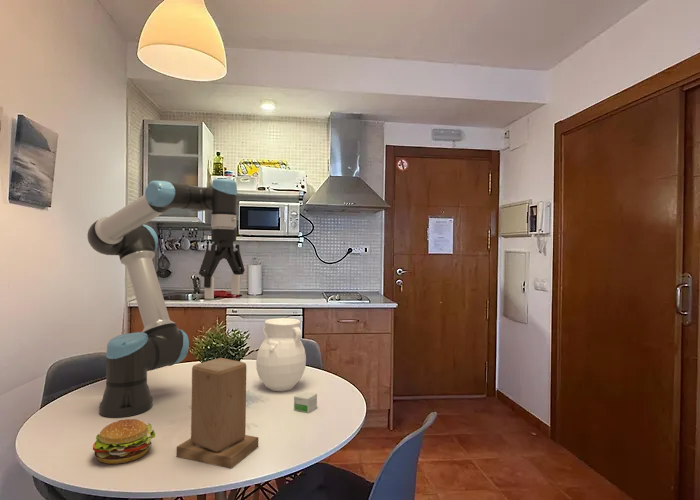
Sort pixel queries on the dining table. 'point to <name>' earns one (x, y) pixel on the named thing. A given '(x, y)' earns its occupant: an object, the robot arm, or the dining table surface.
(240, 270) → the robot arm
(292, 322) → the pitcher
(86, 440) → the dining table surface
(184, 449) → the board
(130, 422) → the food
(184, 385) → the dining table surface
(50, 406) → the dining table surface
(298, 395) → the small box
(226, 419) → the wooden block
